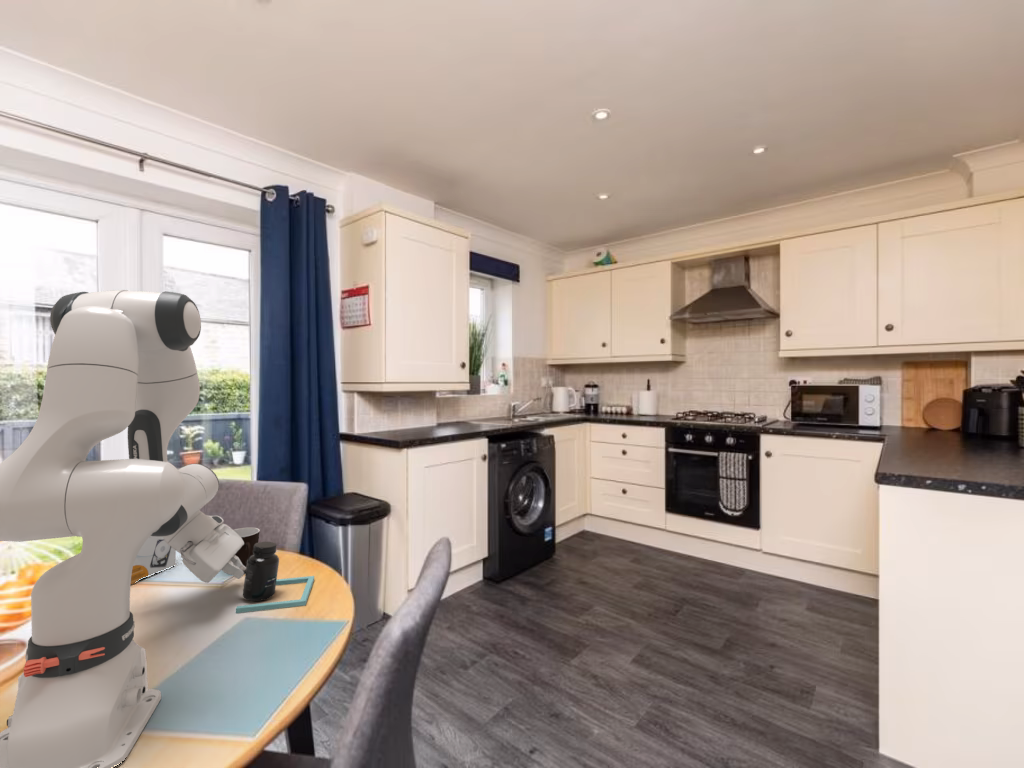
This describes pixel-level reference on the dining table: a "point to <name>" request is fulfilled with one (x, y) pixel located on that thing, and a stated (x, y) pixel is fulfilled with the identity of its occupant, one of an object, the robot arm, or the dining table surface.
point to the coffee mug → (247, 543)
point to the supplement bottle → (261, 572)
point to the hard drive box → (153, 558)
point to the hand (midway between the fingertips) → (243, 574)
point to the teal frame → (283, 603)
